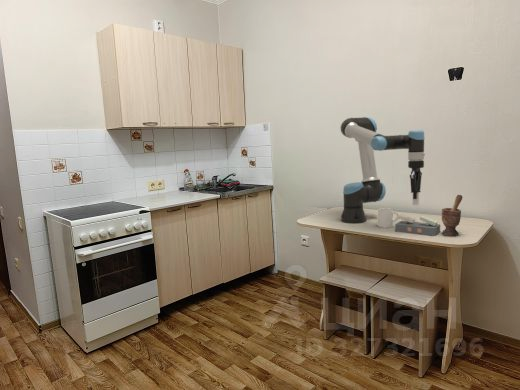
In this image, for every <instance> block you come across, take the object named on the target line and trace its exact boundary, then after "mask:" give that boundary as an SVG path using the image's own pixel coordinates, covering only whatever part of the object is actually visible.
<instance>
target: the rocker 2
mask: <svg viewBox="0 0 520 390" xmlns="http://www.w3.org/2000/svg"><path fill="white" fill-rule="evenodd" d="M419 221H422V223H428V224H431V225H433V226H436V225H437V224H439V223H438V222H439V221H437V220H435V219H432V218H430V217H428V216H425V215H421V216H419Z"/></svg>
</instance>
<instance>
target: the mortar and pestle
mask: <svg viewBox="0 0 520 390" xmlns="http://www.w3.org/2000/svg"><path fill="white" fill-rule="evenodd" d="M463 198H464V197H463V195H462V194H457V195H456V196H455V199H454V203H453V206H452V207H444V208H443V207H442V208H441V221H442V223H443V226H444V227H445V229H444V230H442V233H441V235H443V236H448V237H449V236H450V237H456V236H457V237H458V236H459V235H460V234H459V232H458V230H457V227H458V226H459V225H460V222H461V218H462V217H461V216H462V210H461V209H459V208H458V207H459V206H460V204H461V202H462V201H463Z"/></svg>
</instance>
